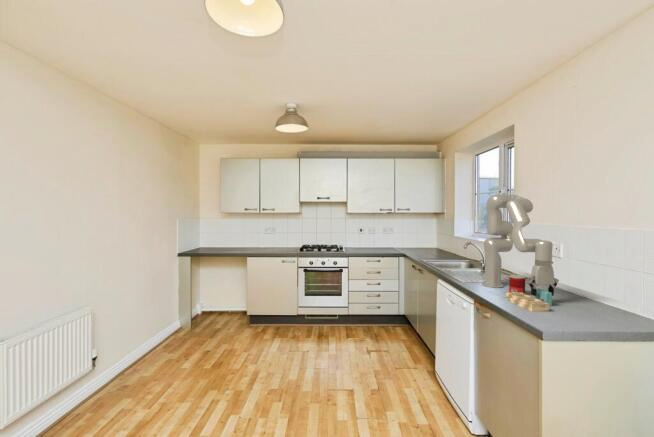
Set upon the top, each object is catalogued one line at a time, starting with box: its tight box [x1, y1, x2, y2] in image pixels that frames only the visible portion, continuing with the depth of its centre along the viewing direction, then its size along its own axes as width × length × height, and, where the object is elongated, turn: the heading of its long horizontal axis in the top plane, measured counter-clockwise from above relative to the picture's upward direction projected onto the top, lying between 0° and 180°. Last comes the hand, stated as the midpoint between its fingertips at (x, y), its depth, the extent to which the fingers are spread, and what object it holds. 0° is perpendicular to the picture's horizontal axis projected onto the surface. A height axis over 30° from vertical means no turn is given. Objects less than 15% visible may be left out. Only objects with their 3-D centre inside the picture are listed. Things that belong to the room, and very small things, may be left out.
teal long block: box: [532, 287, 553, 307], centre depth 169 cm, size 10×3×7 cm, turn 4°
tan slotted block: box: [505, 292, 550, 313], centre depth 165 cm, size 20×9×4 cm, turn 4°
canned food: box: [508, 274, 526, 294], centre depth 185 cm, size 8×8×11 cm
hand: (542, 295), depth 168 cm, fingers open, 9 cm apart
